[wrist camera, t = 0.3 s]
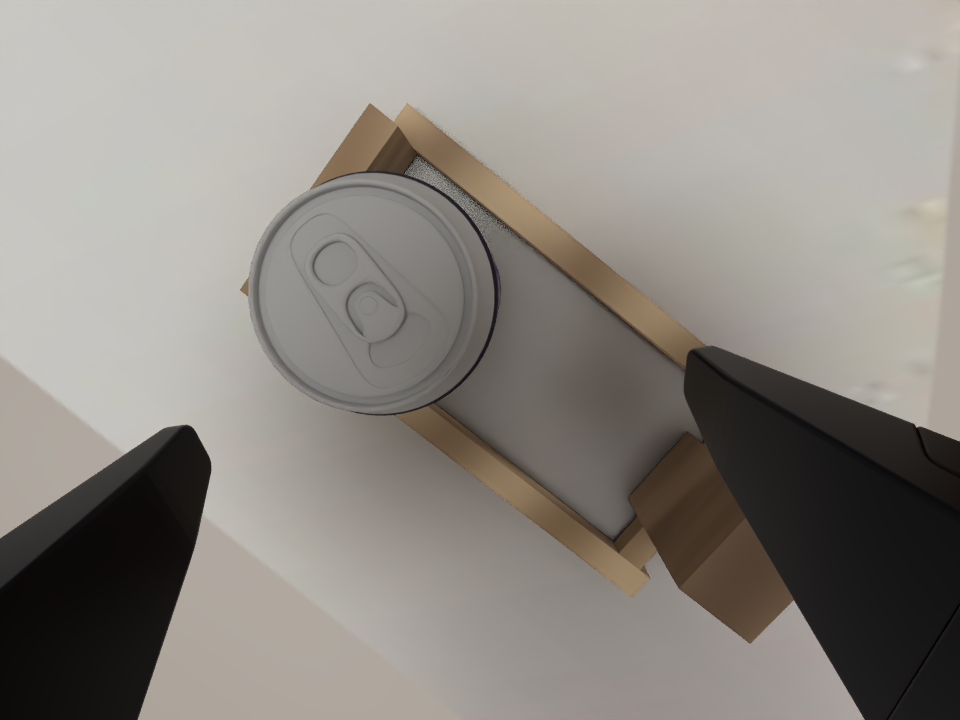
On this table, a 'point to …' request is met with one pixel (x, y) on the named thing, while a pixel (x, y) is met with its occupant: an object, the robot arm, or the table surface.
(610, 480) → the table surface
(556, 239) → the wooden frame
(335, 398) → the beverage can
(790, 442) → the robot arm
